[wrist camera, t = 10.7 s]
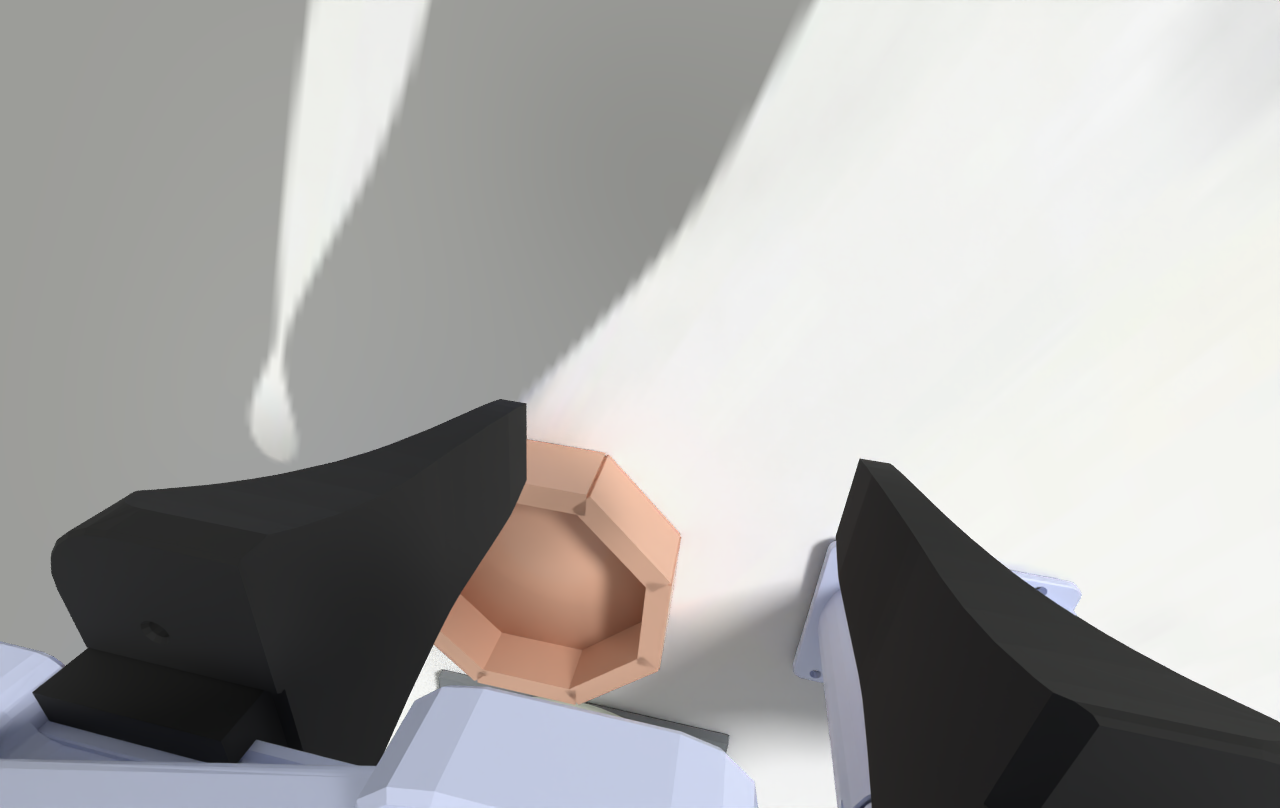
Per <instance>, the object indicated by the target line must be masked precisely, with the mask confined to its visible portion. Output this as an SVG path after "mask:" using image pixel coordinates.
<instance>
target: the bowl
mask: <svg viewBox="0 0 1280 808" xmlns="http://www.w3.org/2000/svg"><path fill="white" fill-rule="evenodd" d="M680 541H681V537H680V533H679V532H678V531H677V530H676V529H675V528H674V527H673V526H672V524H671V523H670V522H669V521H668V520H667V519H666V518H665V517H664V516H663V514H662V513H661V512H660V511H659V510H658V509H657V508H656V507H655V506H654V504H653V503H652V502H651V501H650V500H649V499H648V498H647V497H646V496H645V494H644V493H643V492H642V491H641V490H640V489H639V488H638V487H637V486H636V484H635V483H634V482H633V481H632V480H631V479H630V478H629V477H628V476H627V474H626V473H625V472H624V471H623V470H622V469H621V468H620V467H619V466H618V464H617V463H616V462H615V461H614V460H613V459H612V458H611V457H610V456H609V455H608V456H606V457H605V453H603V452H597V451H591V450H585V449H580V448H574V447H568V446H562V445H556V444H551V443H545V442H539V441H533V440H528V439H527V481H526V483H525V485H524V487H523V490H522V492H521V494H520V497H519V499H518V501H517V503H516V505H515V507H514V510H513V512H512V514H511V516H510V517H509V519H508V521H507V522H506V524H505V525H504V527H503V529H502V530H501V532H500V533H499V535H498V536H497V538H496V540H495V541H494V543H493V544H492V546H491V547H490V549H489V550H488V552H487V553H486V555H485V557H484V558H483V560H482V561H481V563H480V564H479V566H478V567H477V569H476V570H475V572H474V573H473V575H472V577H471V578H470V580H469V581H468V583H467V584H466V586H465V587H464V589H463V590H462V592H461V594H460V595H459V597H458V599H457V600H456V602H455V604H454V605H453V607H452V609H451V611H450V613H449V615H448V617H447V619H446V621H445V623H444V625H443V627H442V629H441V631H440V633H439V635H438V637H437V639H436V640H435V642H434V645H435V646H436V647H437V648H438V649H439V650H440V651H442V652H443V653H444V654H445V655H446V656H447V657H448V658H449V659H450V660H452V661H453V662H454V663H455V664H456V665H457V666H458V667H459V668H461V669H462V670H463V671H464V672H465V673H466V674H467V675H468V676H470V677H471V678H472V679H473V680H474V681H476V680H477V681H478V683H482V684H486V685H491V686H495V687H499V688H504V689H508V690H512V691H517V692H521V693H525V694H530V695H534V696H538V697H543V698H547V699H551V700H556V701H560V702H565V703H569V704H573V705H576V703H577V704H578V705H579V704H582V703H584V702H586V701H589V700H591V699H594V698H596V697H598V696H601V695H603V694H605V693H608V692H610V691H612V690H615V689H617V688H620V687H622V686H624V685H627V684H629V683H631V682H634V681H636V680H638V679H641V678H643V677H646V676H648V675H650V674H653V673H655V672H657V671H658V669H660V664H661V659H662V653H663V648H664V642H665V636H666V631H667V625H668V620H669V614H670V607H671V601H672V594H673V587H674V581H675V574H676V567H677V561H678V554H679V548H680Z"/></svg>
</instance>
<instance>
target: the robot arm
mask: <svg viewBox="0 0 1280 808" xmlns="http://www.w3.org/2000/svg"><path fill="white" fill-rule="evenodd" d="M526 481H527V436H526V403H520V402H514V401H508V400H502V399H499V400H496V401H493V402H491V403H488V404H485V405H483V406H481V407H478V408H476V409H474V410H471V411H469V412H467V413H465V414H463V415H460V416H458V417H456V418H453V419H451V420H449V421H447V422H444V423H442V424H440V425H438V426H435V427H433V428H431V429H428V430H426V431H423V432H421V433H418V434H416V435H413V436H411V437H408V438H405V439H403V440H401V441H398V442H396V443H393V444H390V445H388V446H385V447H382V448H379V449H376V450H373V451H370V452H367V453H364V454H360V455H357V456H353V457H350V458H347V459H344V460H340V461H337V462H332V463H328V464H324V465H319V466H315V467H310V468H306V469H302V470H297V471H293V472H288V473H284V474H278V475H273V476H267V477H261V478H255V479H249V480H242V481H236V482H228V483H221V484H212V485H202V486H191V487H179V488H168V489H157V490H142V491H135V492H133V493H131V494H130V495H128V496H126V497H125V498H123V499H122V500H120V501H118V502H117V503H115V504H113V505H112V506H110V507H108V508H107V509H105V510H104V511H102V512H100V513H98V514H97V515H95V516H94V517H92V518H90V519H88V520H87V521H85V522H84V523H82V524H80V525H79V526H77V527H76V528H74V529H72V530H70V531H69V532H67V533H66V534H65V535H63V536H62V537H61V538H59V539H58V540H57V541H56V544H55V546H54V548H53V550H52V553H51V570H52V571H51V573H52V576H53V579H54V581H55V584H56V587H57V590H58V592H59V594H60V596H61V597H62V599H63V601H64V603H65V605H66V607H67V609H68V611H69V613H70V615H71V617H72V619H73V621H74V623H75V625H76V627H77V629H78V631H79V632H80V635H81V637H82V639H83V641H84V643H85V644H86V646H87V647H88V648H87V649H86V650H85V651H84V652H83V653H81V654H80V655H79V656H77V657H76V658H75V659H74V660H72V661H71V662H70V663H69V664H68V665H66V666H65V665H64V664H63V663H62V662H61V661H59V660H58V659H56V658H55V657H54V656H52V655H49V654H47V653H44V652H42V651H37V650H34V649H30V648H26V647H22V646H18V645H13V644H9V643H5V642H1V641H0V808H758V803H757V796H756V789H755V782H754V781H753V780H752V779H751V778H750V777H749V776H748V775H747V774H746V773H745V772H744V771H743V770H742V769H741V768H740V767H739V766H738V765H737V764H736V763H735V762H734V761H733V760H732V759H731V758H730V757H729V756H728V755H727V754H726V753H725V752H724V751H723V750H722V749H721V748H720V747H717V746H715V745H713V744H710V743H708V742H705V741H703V740H700V739H698V738H696V737H693V736H691V735H688V734H686V733H683V732H681V731H677V730H673V729H669V728H664V727H660V726H656V725H651V724H647V723H643V722H638V721H634V720H630V719H625V718H621V717H617V716H612V715H608V714H604V713H599V712H595V711H591V710H586V709H582V708H578V707H573V706H569V705H565V704H560V703H556V702H551V701H547V700H543V699H538V698H534V697H530V696H525V695H521V694H517V693H512V692H508V691H504V690H499V689H495V688H491V687H480V686H457V685H450V686H444V687H441V688H439V689H437V690H435V691H433V692H431V693H429V694H427V695H425V696H423V697H421V698H419V699H417V700H415V701H414V703H413V705H412V706H411V708H410V710H409V712H408V713H407V715H406V717H405V718H404V720H403V722H402V723H401V725H400V727H399V729H398V730H397V732H396V734H395V735H394V737H393V739H392V740H391V742H390V744H389V745H388V742H389V740H390V738H391V736H392V733H393V731H394V729H395V727H396V724H397V722H398V720H399V718H400V715H401V713H402V711H403V709H404V706H405V704H406V702H407V699H408V697H409V695H410V693H411V691H412V689H413V686H414V684H415V682H416V680H417V678H418V676H419V674H420V672H421V670H422V667H423V665H424V663H425V661H426V659H427V657H428V655H429V653H430V650H431V648H432V646H433V644H434V642H435V640H436V639H437V637H438V635H439V633H440V631H441V629H442V627H443V625H444V623H445V621H446V619H447V617H448V615H449V613H450V611H451V609H452V607H453V605H454V604H455V602H456V600H457V599H458V597H459V595H460V594H461V592H462V590H463V589H464V587H465V586H466V584H467V583H468V581H469V580H470V578H471V577H472V575H473V573H474V572H475V570H476V569H477V567H478V566H479V564H480V563H481V561H482V560H483V558H484V557H485V555H486V553H487V552H488V550H489V549H490V547H491V546H492V544H493V543H494V541H495V540H496V538H497V536H498V535H499V533H500V532H501V530H502V529H503V527H504V525H505V524H506V522H507V521H508V519H509V517H510V516H511V514H512V512H513V510H514V507H515V505H516V503H517V501H518V499H519V497H520V494H521V492H522V490H523V487H524V485H525V483H526ZM1037 587H1041V588H1040V589H1035V588H1037ZM1081 596H1082V594H1081V591H1080V590H1079V588H1078V587H1077V585H1075V584H1074V583H1073V582H1070V581H1066V580H1060V579H1055V578H1049V577H1044V576H1038V575H1033V574H1027V573H1022V572H1016V571H1011V570H1009V569H1008V568H1006V567H1005V566H1004V565H1003V564H1001V563H1000V562H999V561H997V560H996V559H995V558H994V557H993V556H991V555H990V554H989V553H988V552H987V551H985V550H984V549H983V548H982V547H981V546H979V545H978V544H977V543H976V542H975V541H973V540H972V539H971V538H970V537H969V536H968V535H966V534H965V533H964V532H963V531H962V530H961V529H960V528H959V527H958V526H956V525H955V524H954V523H953V522H952V521H951V520H950V519H949V518H948V517H947V516H946V515H945V514H943V513H942V512H941V511H940V510H939V509H938V508H937V507H936V506H935V505H934V504H933V503H932V502H931V501H930V500H929V499H928V498H927V497H926V496H925V495H924V494H923V493H922V492H921V491H920V490H918V489H917V488H916V487H915V486H914V485H913V484H912V483H911V482H910V481H909V480H908V479H907V478H906V477H905V476H904V475H903V474H902V473H901V472H900V471H899V470H897V469H896V468H895V467H894V466H893V465H891V464H889V463H883V462H877V461H871V460H865V459H859V463H858V466H857V469H856V472H855V476H854V479H853V482H852V485H851V489H850V492H849V495H848V498H847V502H846V505H845V508H844V511H843V515H842V518H841V521H840V524H839V527H838V531H837V534H836V541H833V542H832V543H831V544H830V545H829V547H828V550H827V553H826V556H825V559H824V563H823V566H822V569H821V573H820V576H819V579H818V582H817V586H816V589H815V592H814V596H813V599H812V602H811V606H810V609H809V612H808V615H807V619H806V622H805V625H804V629H803V632H802V635H801V638H800V642H799V645H798V648H797V652H796V655H795V658H794V662H793V672H794V674H795V675H796V676H798V677H800V678H803V679H808V680H812V681H817V682H822V683H824V692H825V700H826V709H827V718H828V727H829V736H830V745H831V753H832V762H833V771H834V780H835V789H836V798H837V807H838V808H1280V723H1279V722H1278V721H1277V720H1274V719H1272V718H1270V717H1268V716H1266V715H1264V714H1262V713H1260V712H1258V711H1255V710H1253V709H1251V708H1249V707H1247V706H1245V705H1243V704H1241V703H1238V702H1236V701H1234V700H1232V699H1230V698H1228V697H1226V696H1224V695H1222V694H1219V693H1217V692H1215V691H1213V690H1211V689H1209V688H1207V687H1205V686H1202V685H1200V684H1198V683H1196V682H1194V681H1192V680H1190V679H1188V678H1186V677H1184V676H1182V675H1180V674H1178V673H1176V672H1174V671H1172V670H1170V669H1169V668H1167V667H1165V666H1163V665H1161V664H1159V663H1157V662H1155V661H1154V660H1152V659H1150V658H1148V657H1146V656H1144V655H1142V654H1141V653H1139V652H1137V651H1135V650H1133V649H1131V648H1129V647H1128V646H1126V645H1124V644H1123V643H1121V642H1119V641H1117V640H1116V639H1114V638H1112V637H1110V636H1109V635H1107V634H1105V633H1103V632H1102V631H1100V630H1098V629H1097V628H1095V627H1094V626H1092V625H1090V624H1089V623H1087V622H1086V621H1084V620H1082V619H1081V618H1079V617H1078V616H1077V615H1076V613H1075V612H1074V609H1075V607H1076V606H1077V604H1078V602H1079V601H1080V599H1081ZM813 670H818V671H813ZM387 745H388V747H387ZM386 747H387V749H386ZM385 749H386V751H385Z"/></svg>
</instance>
